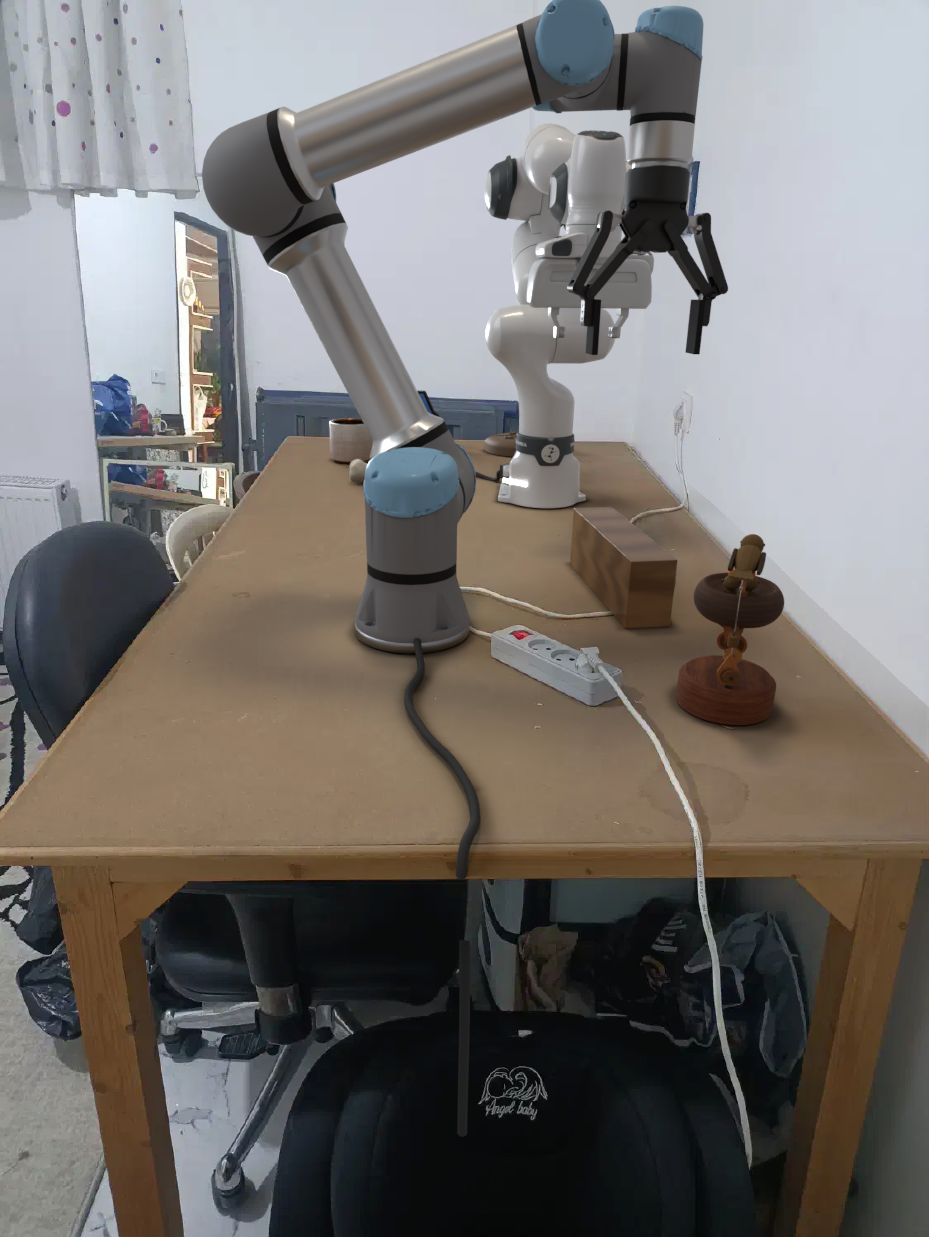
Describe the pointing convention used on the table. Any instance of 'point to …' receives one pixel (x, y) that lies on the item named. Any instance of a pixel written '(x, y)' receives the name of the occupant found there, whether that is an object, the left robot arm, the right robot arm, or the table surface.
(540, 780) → the table surface
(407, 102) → the left robot arm
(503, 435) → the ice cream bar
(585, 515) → the box
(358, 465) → the dog toy
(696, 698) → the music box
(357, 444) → the planter
